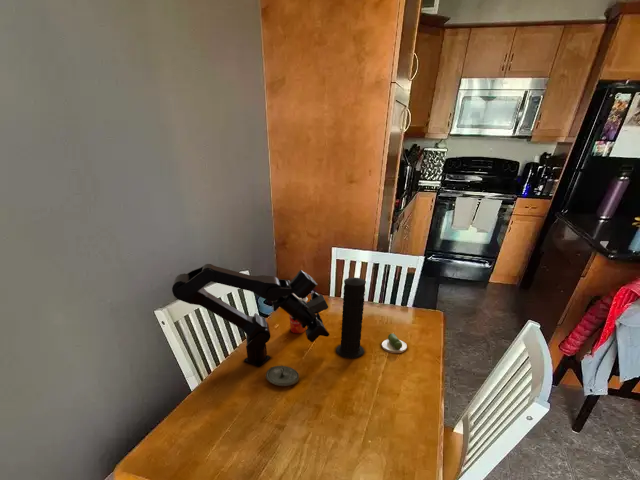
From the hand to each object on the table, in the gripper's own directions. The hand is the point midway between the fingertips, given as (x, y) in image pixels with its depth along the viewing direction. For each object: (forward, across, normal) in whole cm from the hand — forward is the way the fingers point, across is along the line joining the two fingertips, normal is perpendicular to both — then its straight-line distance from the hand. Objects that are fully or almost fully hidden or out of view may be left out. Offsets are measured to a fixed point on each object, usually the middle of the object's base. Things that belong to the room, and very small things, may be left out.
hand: (328, 335), depth 124 cm
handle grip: (+11, 0, 0) cm, 11 cm away
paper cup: (0, +19, +11) cm, 21 cm away
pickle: (+22, 0, -12) cm, 26 cm away
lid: (-7, -13, +17) cm, 23 cm away
